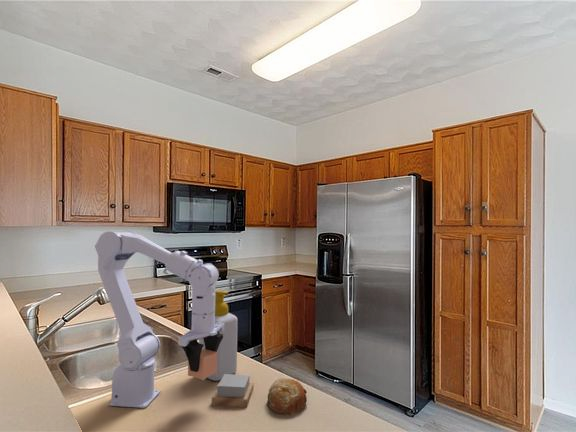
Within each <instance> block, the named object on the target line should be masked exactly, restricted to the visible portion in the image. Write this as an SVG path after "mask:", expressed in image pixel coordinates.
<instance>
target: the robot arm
mask: <svg viewBox="0 0 576 432" xmlns="http://www.w3.org/2000/svg"><path fill="white" fill-rule="evenodd" d="M94 247H95V252H96V254H97V271H98V274H99V277H100V279H101V282H102V284H103V288H104V290H105V292H106V295H107V298H108V301H109V304H110V306H111V308H112V312H113V314H114V316H115V319H116V322H117V325H118V328H119V330H120V335H119V338H118V339H117V342H116V345H117V349H118V362H119V364H118V365H117V366H116V368H115V369H114V371H113V375H112V378H111V379H112V380H111V381H112V382H111V401H110V403H109V407H123V408H124V407H125V408H142V409H143V408H144V409H145V408H147V407H148V406H149V404H151V403H152V402H153V400H155V399H156V397H158V396H159V395H160V394H161V391H160V390H156V389H155V363H156V362H155V361H156V355H157V354H158V353H159V351H160V349H161V341H160V338H159V337H158V336H157V335H156V334H155V333H154V331H153V329H152V327H151V326H149V325H147V324H146V323H145V322H144V321H143V319H142V316H141V314H140V310H139V308H138V306H137V303H136V300H135V298H134V295H133V292H132V290H131V287H130V285H129V282H128V279H127V276H126V274H125V271H124V268H125V266H126V264H127V262H128V261H129V260H130V259H131V257H133V256H134V255H135V254H136V253H138V254H142V255H143V256H146V257H148V258H149V259H153V260H155V261H158V262H159V263H162V264H163V265H165V269H166V270H167V272H169V273H171V274H173V275H175V276H178V277H179V278H181V279H183V280H185V281H188V283H189V285H190V286H191V288H192V298H191V299H192V301H191V329H190V330H188V331H187V332H186V333H183V334H182V335H180V336H178V340H177V341H178V342H177V344H178V346H180V347H182V350H183V351H184V353H185V356H186V358H187V363H188V362H189V366H190V371H194V372H198V370H199V364H200V355H201V351H202V348H203V346H204V345H203V344H199V339H202V338H203V339H204V344H205V349H206V350H210V351H215V352H217V350H218V347H219V345H220V342H221V341H222V339H223V334H220V333H219V331H224V328H225V324H224V323H216V324H215V291H216V283H217V282H218V280H219V278H220V277H219V276H220V272H219V269H218V268H217V267H216V266H215V265H213V263H210V262H209V263H204V261H203V259H200V258H199V259H196V258H194V257H192V256H190V255H188V251H186V250H176V251H173V252H171V251H170V250H168V249H167V248H164V247H162V246H160V245H158V244H157V243H155V242H154V241H152V240H150V239H148V238H146V237H145V236H143V235H142V234H137V233H136V232H134V231H106V232H103V233H101V234H100V236H99V237H98V239H97V241H96V243H95V245H94Z"/></svg>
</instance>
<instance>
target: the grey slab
mask: <svg viewBox="0 0 576 432" xmlns="http://www.w3.org/2000/svg"><path fill="white" fill-rule="evenodd" d="M249 383H250V375H249V374H235V373H234V374H224V376H223V377H222V379H221V380H219V383H218V384H217V386H216V387H217V389H216V390H217V396H227V397H245V395H246V392H247V389H248V387H249Z"/></svg>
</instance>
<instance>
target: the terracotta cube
mask: <svg viewBox="0 0 576 432" xmlns="http://www.w3.org/2000/svg"><path fill="white" fill-rule="evenodd" d="M216 372H217V352H215V351H210V350H206V349H202V351H201V355H200V364H199V370H198V372H194V371H190V366H189V362H188V361H187V376H189V377H193V378H197V379H200V380H202V381H203V380H206V379H208V378H207V377H209V376H211V375H213V374H214V373H216Z"/></svg>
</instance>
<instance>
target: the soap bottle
mask: <svg viewBox="0 0 576 432" xmlns="http://www.w3.org/2000/svg"><path fill="white" fill-rule="evenodd" d="M224 296H229V291H226V290H221V289H220V290H215V324H216V323H224V324H225V328H224V331H219V333H220V334H223V339H222V341H221V342H220V345H219V347H218V350H217V372H216V373H214V374H213V375H211V376H209V377H207V378H206V379H209V380H211V381H213V382H218V381H219V382H220V381H221V379H222V377H223V376H224V374H235V373H237V370H238V369H237V368H238V367H237V365H238V364H237V362H238V328H239V327H238V324H239V323H238V321H239V320H238V317H237V316H236V315H235V314H233V313H231V312H229V306H228V303H226V302H224V301H225V298H224ZM198 342H199V344H203V345H204V346H203V348H202V349H205V344H204V339H203V338H202V339H199V340H198Z"/></svg>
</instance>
